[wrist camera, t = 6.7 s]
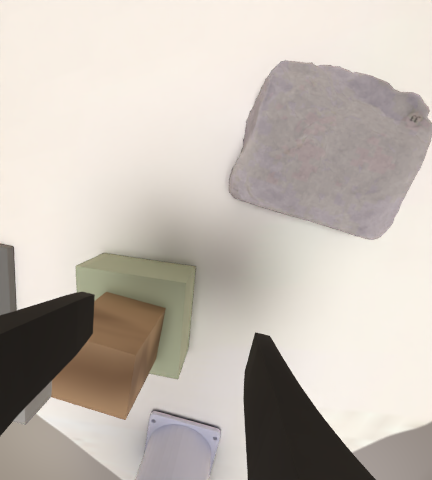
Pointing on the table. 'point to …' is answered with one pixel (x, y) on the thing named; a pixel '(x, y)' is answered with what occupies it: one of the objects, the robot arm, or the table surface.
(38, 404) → the light gray cube
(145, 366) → the walnut block
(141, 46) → the table surface
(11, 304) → the card
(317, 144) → the stone block
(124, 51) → the table surface
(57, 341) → the robot arm
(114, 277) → the sage block
